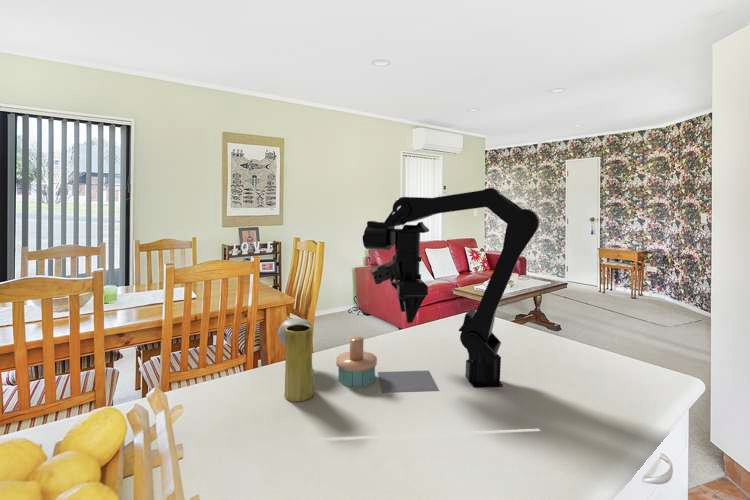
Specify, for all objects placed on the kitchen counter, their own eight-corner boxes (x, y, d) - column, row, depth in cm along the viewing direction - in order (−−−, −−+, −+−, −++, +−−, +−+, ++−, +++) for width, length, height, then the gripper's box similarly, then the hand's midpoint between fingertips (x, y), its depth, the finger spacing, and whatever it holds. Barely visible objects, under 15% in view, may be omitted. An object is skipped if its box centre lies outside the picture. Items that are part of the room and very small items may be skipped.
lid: (375, 354, 94) (375, 331, 93) (378, 370, 85) (378, 345, 84) (336, 355, 93) (336, 332, 93) (336, 372, 84) (335, 346, 84)
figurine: (288, 361, 100) (287, 314, 99) (317, 363, 99) (316, 316, 97) (274, 374, 92) (272, 323, 91) (305, 377, 91) (304, 326, 89)
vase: (308, 403, 79) (307, 333, 77) (279, 400, 80) (277, 331, 79) (318, 389, 85) (317, 324, 83) (291, 386, 86) (290, 322, 85)
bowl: (373, 372, 94) (373, 355, 93) (376, 387, 86) (376, 369, 86) (338, 373, 93) (338, 356, 93) (338, 389, 85) (338, 371, 85)
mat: (428, 372, 94) (428, 370, 94) (439, 392, 84) (439, 390, 84) (377, 373, 93) (377, 372, 93) (382, 394, 83) (382, 392, 83)
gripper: (369, 247, 102) (369, 307, 104) (376, 257, 83) (375, 330, 85) (413, 246, 103) (412, 306, 105) (429, 257, 84) (427, 329, 86)
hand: (406, 316), depth 95 cm, fingers open, 9 cm apart
